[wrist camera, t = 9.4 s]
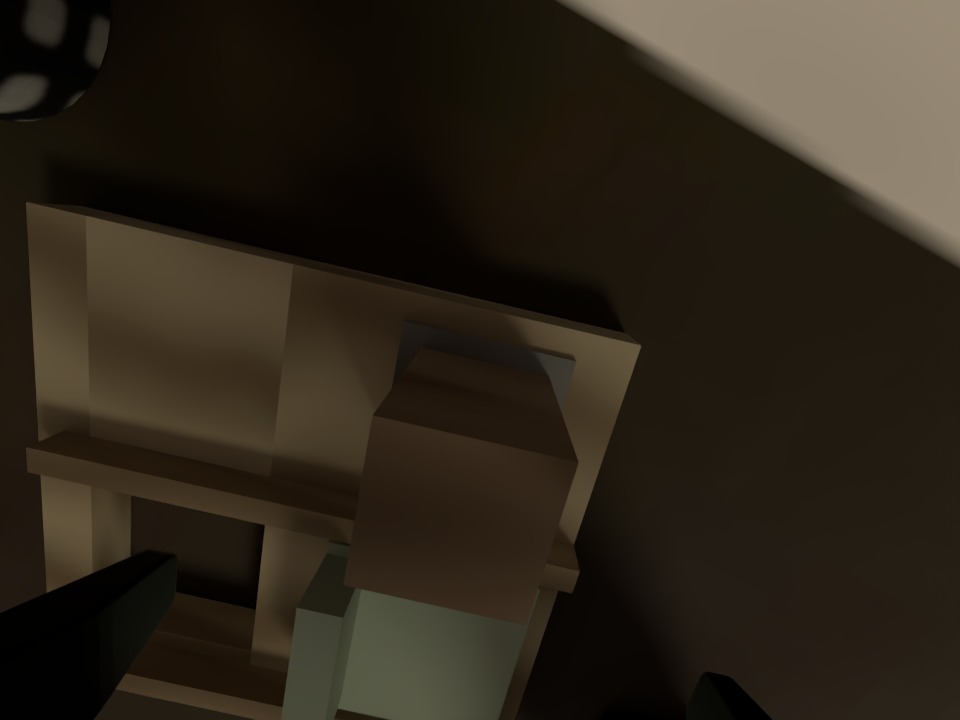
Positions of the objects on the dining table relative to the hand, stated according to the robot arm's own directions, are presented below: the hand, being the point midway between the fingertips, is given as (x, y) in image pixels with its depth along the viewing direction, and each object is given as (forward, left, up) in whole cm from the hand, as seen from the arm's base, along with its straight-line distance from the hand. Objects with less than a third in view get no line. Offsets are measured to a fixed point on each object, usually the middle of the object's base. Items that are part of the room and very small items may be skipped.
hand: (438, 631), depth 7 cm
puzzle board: (-5, +6, -11) cm, 13 cm away
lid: (-10, 0, -9) cm, 13 cm away
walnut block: (0, 0, -9) cm, 9 cm away
